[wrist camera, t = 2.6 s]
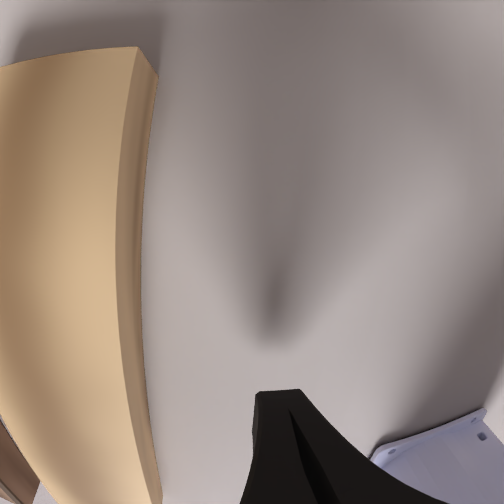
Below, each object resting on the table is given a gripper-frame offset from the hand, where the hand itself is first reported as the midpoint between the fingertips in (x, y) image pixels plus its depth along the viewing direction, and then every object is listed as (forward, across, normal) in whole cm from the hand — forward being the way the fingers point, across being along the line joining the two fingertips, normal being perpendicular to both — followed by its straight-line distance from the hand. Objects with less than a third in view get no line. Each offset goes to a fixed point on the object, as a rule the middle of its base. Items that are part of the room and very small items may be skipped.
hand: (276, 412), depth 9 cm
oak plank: (+3, +7, 0) cm, 8 cm away
